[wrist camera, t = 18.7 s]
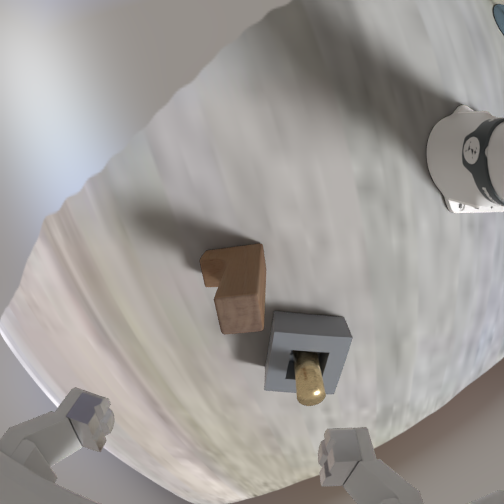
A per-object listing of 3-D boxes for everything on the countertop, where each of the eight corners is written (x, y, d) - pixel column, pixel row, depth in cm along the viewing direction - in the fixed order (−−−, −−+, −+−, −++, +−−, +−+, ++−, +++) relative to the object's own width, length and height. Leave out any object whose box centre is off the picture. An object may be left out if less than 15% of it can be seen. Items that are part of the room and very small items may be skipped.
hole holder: (343, 317, 49) (352, 337, 43) (328, 371, 53) (333, 394, 47) (274, 310, 50) (274, 331, 43) (265, 366, 53) (264, 390, 47)
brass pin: (317, 339, 49) (328, 386, 38) (313, 358, 50) (321, 406, 39) (294, 338, 49) (300, 385, 38) (290, 356, 50) (294, 405, 39)
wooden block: (210, 276, 48) (180, 338, 31) (204, 249, 47) (170, 301, 30) (266, 270, 48) (264, 332, 30) (262, 242, 46) (258, 292, 29)
